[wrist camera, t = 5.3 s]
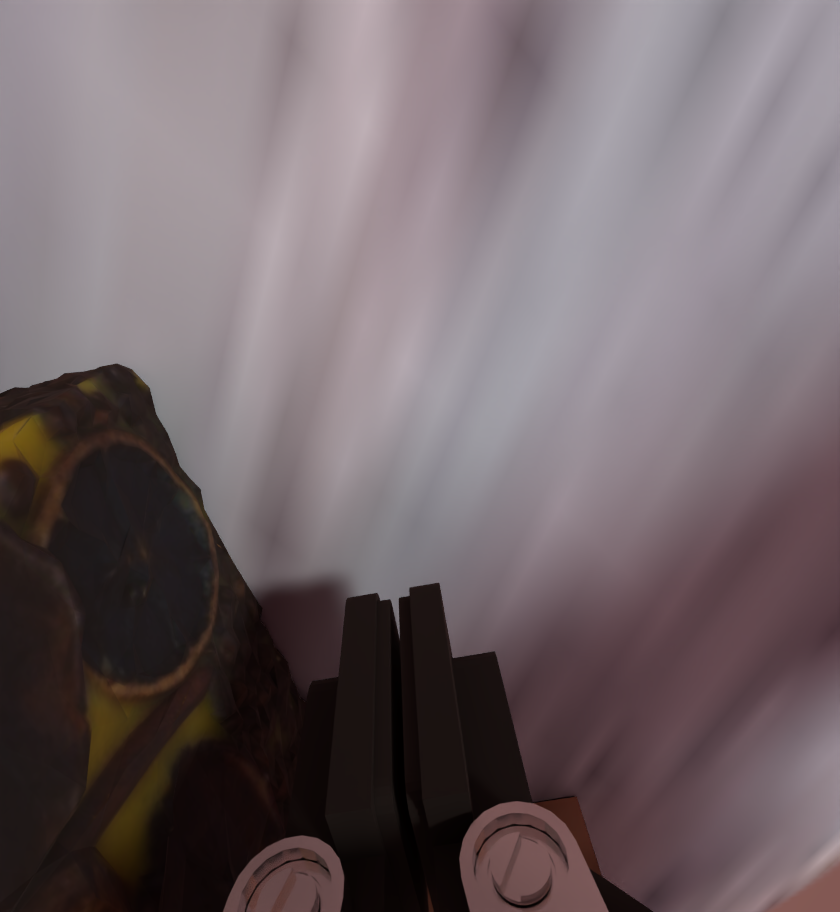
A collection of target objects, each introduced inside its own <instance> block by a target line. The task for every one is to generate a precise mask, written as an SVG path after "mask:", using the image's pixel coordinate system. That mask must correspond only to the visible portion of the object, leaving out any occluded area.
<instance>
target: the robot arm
mask: <svg viewBox="0 0 840 912" xmlns="http://www.w3.org/2000/svg"><path fill="white" fill-rule="evenodd" d="M409 592H410V596H407V597H401V598H399V622H400V639H399V634H398V630H397V625H396V621H395V616H394V612H393V607H392V603H391V600H390V599H389V600H383V601H380V598H379V595H378V594H377V593H374V594H368V595H362V596H356V597H350V598H347V600H346V606H345V617H344V627H343V637H342V647H341V657H340V667H339V677H336V678H329V679H323V680H317V681H312V683H311V684H310V686H309V691H308V695H307V702H306V708H305V714H304V721H303V727H302V733H301V740H300V746H299V752H298V759H297V765H296V771H295V778H294V784H293V790H292V797H291V803H290V809H289V815H288V822H287V828H286V834H285V838H284V839H282V840H280V841H278V842H276V843H274V844H272V845H270V846H268V847H266V848H265V849H264V850H263V851H261V852H260V853H259V854H258V855H256V856H255V857H254V858H253V859H252V860H251V861H250V862H249V863H248V865H247V866H246V867H245V868H244V870H243V871H242V872H241V873H240V875H239V876H238V878H237V880H236V882H235V884H234V886H233V888H232V890H231V892H230V894H229V897H228V899H227V902H226V905H225V908H224V911H223V912H429V905H428V890H429V894H430V898H431V902H432V906H433V910H434V912H653V911H651V910H650V909H649V908H647V907H646V906H644V905H643V904H641V903H640V902H638V901H637V900H635V899H634V898H632V897H631V896H629V895H628V894H626V893H625V892H624V891H622V890H621V889H619V888H618V887H616V886H615V885H613V884H612V883H610V882H609V881H607V880H606V879H604V878H603V877H602V876H600V875H599V874H597V873H596V872H594V871H593V870H591V869H590V868H588V865H587V863H586V861H585V859H584V857H583V855H582V852H581V850H580V848H579V846H578V844H577V841H576V840H575V838H574V837H573V835H572V833H571V832H570V830H569V829H568V827H567V826H566V824H565V823H564V822H563V821H561V820H560V819H559V818H558V817H557V816H556V815H555V814H553V813H552V812H551V811H549V810H547V809H545V808H543V807H540V806H538V805H536V804H533V803H532V800H531V796H530V791H529V787H528V783H527V779H526V775H525V771H524V767H523V763H522V759H521V755H520V751H519V747H518V743H517V738H516V734H515V730H514V726H513V722H512V718H511V714H510V710H509V706H508V702H507V698H506V694H505V689H504V685H503V681H502V677H501V673H500V669H499V665H498V661H497V657H496V654H495V651H494V652H488V653H482V654H476V655H470V656H464V657H458V658H453V657H452V652H451V646H450V640H449V635H448V629H447V624H446V618H445V612H444V607H443V601H442V595H441V590H440V584H439V583H435V584H429V585H423V586H417V587H411V588H410V589H409ZM427 886H428V889H427Z"/></svg>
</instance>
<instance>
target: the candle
mask: <svg viewBox="0 0 840 912" xmlns="http://www.w3.org/2000/svg"><path fill="white" fill-rule="evenodd" d="M261 612H262V607H261V606H260V605H259V603H258V602H257V600H256V599H255V597H254V595H253V594H252V592H251V591H250V589H249V587H248V586H247V584H246V582H245V581H244V579H243V577H242V576H241V574H240V572H239V571H238V569H237V568H236V566H235V564H234V563H233V561H232V559H231V557H230V556H229V554H228V552H227V550H226V548H225V546H224V544H223V542H222V541H221V539H220V537H219V535H218V533H217V531H216V530H215V528H214V526H213V524H212V522H211V521H210V519H209V517H208V515H207V513H206V511H205V510H204V505H203V500H202V495H201V490H200V488H199V487H198V486H197V485H196V484H195V483H194V482H193V481H192V480H191V479H190V478H189V477H188V476H187V474H186V473H185V472H184V471H183V470H182V468H181V467H180V466H179V463H178V460H177V456H176V453H175V451H174V448H173V446H172V443H171V441H170V438H169V436H168V433H167V432H166V430H165V428H164V427H163V425H162V423H161V422H160V420H159V418H158V417H157V415H156V412H155V408H154V404H153V400H152V396H151V392H150V388H149V387H148V386H147V385H146V384H145V383H144V382H143V381H142V380H141V379H140V377H139V376H138V375H137V374H136V373H135V372H134V371H133V370H132V369H129V368H127V367H124V366H122V365H119V364H113V365H107V366H102V367H99V368H97V369H94V370H89V371H84V372H75V373H64V374H63V375H62V376H60V377H59V378H57V379H54V380H50V381H45V382H43V383H39V384H36V385H32V386H30V387H29V388H16V387H15V388H12V389H10V390H7V391H5V392H3V393H0V912H223V911H224V908H225V905H226V902H227V899H228V897H229V894H230V892H231V890H232V888H233V886H234V884H235V882H236V880H237V878H238V876H239V875H240V873H241V872H242V871H243V870H244V868H245V867H246V866H247V865H248V863H249V862H250V861H251V860H252V859H253V858H254V857H255V856H256V855H258V854H259V853H260V852H261V851H263V850H264V849H265V848H266V847H268V846H270V845H272V844H274V843H276V842H278V841H280V840H282V839H284V838H285V834H286V828H287V822H288V815H289V809H290V803H291V797H292V790H293V784H294V778H295V771H296V765H297V759H298V752H299V746H300V740H301V733H302V727H303V721H304V714H305V708H306V702H305V701H304V700H302V699H301V698H300V697H299V694H298V691H297V688H296V686H295V684H294V682H293V680H292V679H291V675H290V671H289V667H288V662H287V661H286V660H285V659H284V657H283V656H282V655H281V654H280V653H279V652H278V651H277V649H276V648H275V647H274V645H273V641H272V639H271V637H270V635H269V633H268V631H267V629H266V627H265V626H264V625H263V624H262V622H261V621H260V616H261Z"/></svg>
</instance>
